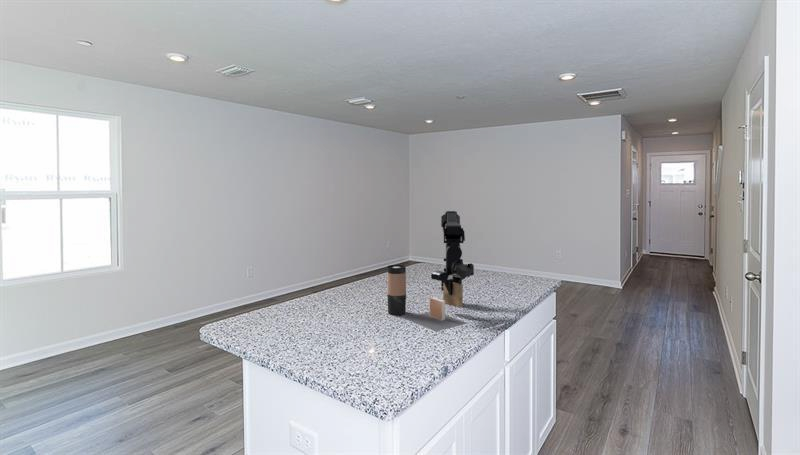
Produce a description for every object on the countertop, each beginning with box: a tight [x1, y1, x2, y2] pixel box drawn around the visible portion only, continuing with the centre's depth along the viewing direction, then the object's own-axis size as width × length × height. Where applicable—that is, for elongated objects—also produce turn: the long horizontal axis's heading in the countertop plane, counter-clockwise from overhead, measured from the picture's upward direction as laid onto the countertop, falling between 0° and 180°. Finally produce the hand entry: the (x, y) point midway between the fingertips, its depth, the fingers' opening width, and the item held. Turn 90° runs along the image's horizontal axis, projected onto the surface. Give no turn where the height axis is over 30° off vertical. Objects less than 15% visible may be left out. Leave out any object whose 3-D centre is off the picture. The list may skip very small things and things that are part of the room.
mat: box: [403, 311, 468, 332], centre depth 165 cm, size 20×16×1 cm
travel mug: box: [386, 264, 407, 317], centre depth 174 cm, size 8×8×20 cm
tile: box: [429, 296, 446, 320], centre depth 168 cm, size 8×2×8 cm, turn 36°
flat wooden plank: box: [442, 282, 464, 308], centre depth 171 cm, size 9×2×9 cm, turn 37°
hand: (452, 294), depth 171 cm, fingers closed on flat wooden plank, 2 cm apart
